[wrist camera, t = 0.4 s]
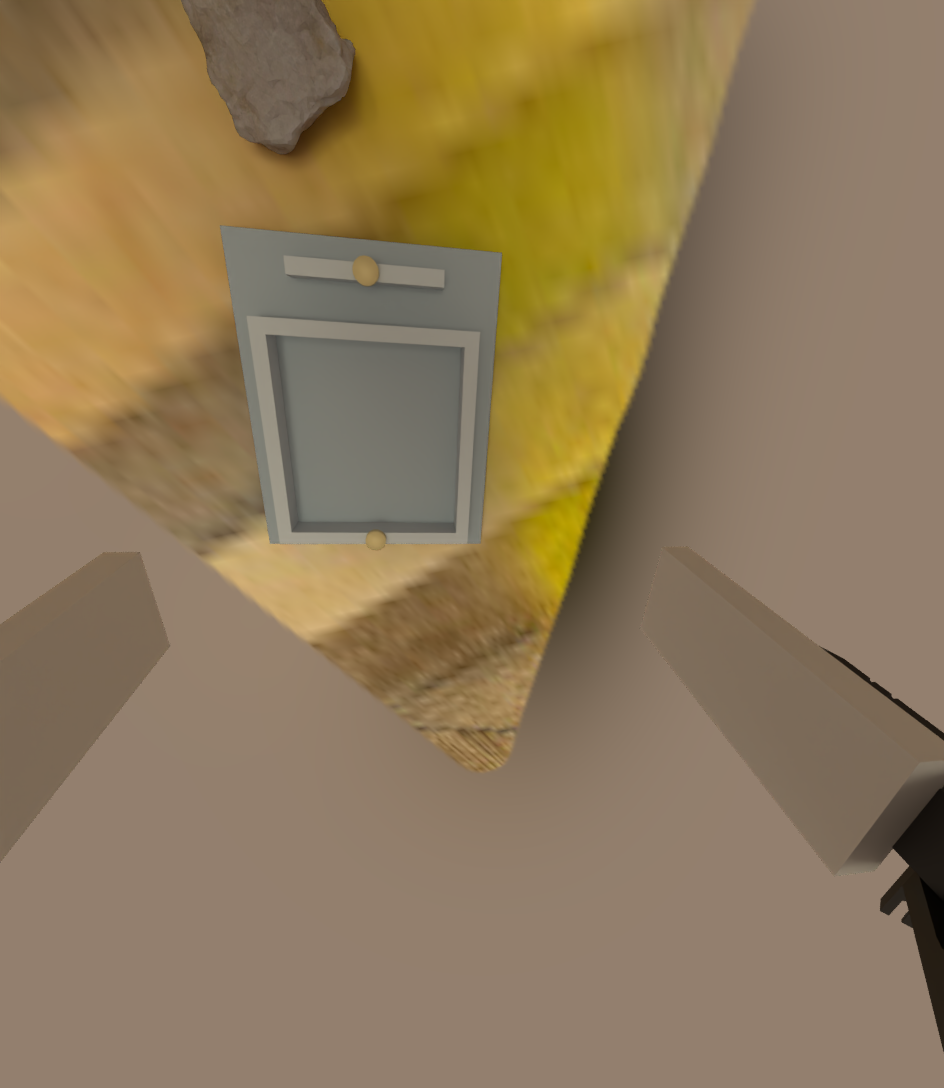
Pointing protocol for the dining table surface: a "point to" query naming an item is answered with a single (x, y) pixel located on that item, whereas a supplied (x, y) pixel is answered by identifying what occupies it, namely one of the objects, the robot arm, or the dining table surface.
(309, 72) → the stone
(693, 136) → the dining table surface
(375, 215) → the dining table surface
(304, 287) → the bracket board
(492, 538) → the dining table surface
